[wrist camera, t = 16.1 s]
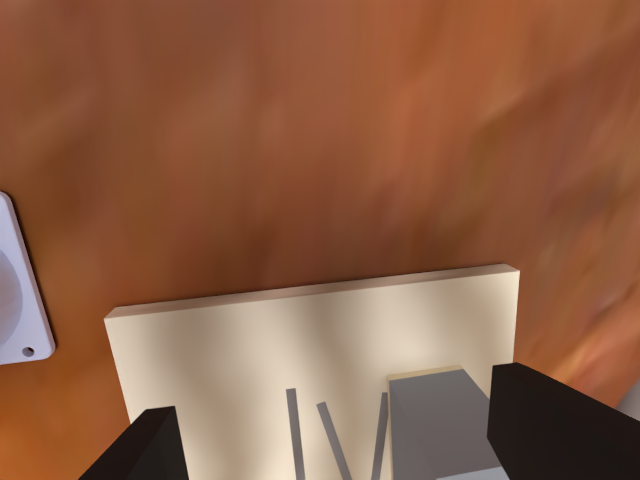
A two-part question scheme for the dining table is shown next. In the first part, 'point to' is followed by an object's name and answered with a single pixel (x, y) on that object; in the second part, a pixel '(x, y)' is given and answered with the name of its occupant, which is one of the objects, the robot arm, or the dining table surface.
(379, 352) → the pine board
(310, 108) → the dining table surface
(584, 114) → the dining table surface
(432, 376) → the block
